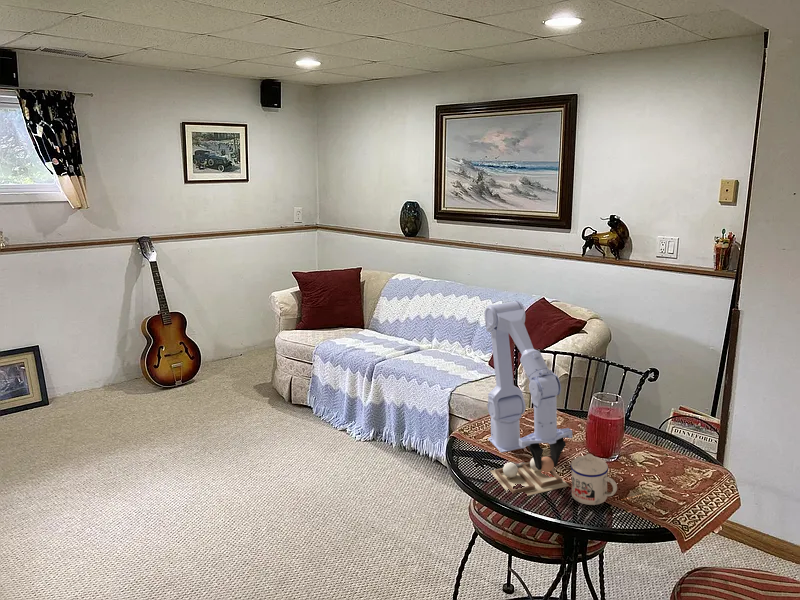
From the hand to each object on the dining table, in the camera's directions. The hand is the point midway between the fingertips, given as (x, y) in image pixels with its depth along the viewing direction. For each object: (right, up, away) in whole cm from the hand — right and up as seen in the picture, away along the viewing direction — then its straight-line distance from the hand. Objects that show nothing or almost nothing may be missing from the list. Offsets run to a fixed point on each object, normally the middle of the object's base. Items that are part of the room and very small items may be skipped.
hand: (546, 466), depth 176 cm
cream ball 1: (-9, -4, +4) cm, 10 cm away
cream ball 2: (-1, -3, +6) cm, 6 cm away
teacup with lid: (+10, -6, -8) cm, 15 cm away
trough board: (-4, -4, +3) cm, 6 cm away
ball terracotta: (0, -1, 0) cm, 1 cm away
